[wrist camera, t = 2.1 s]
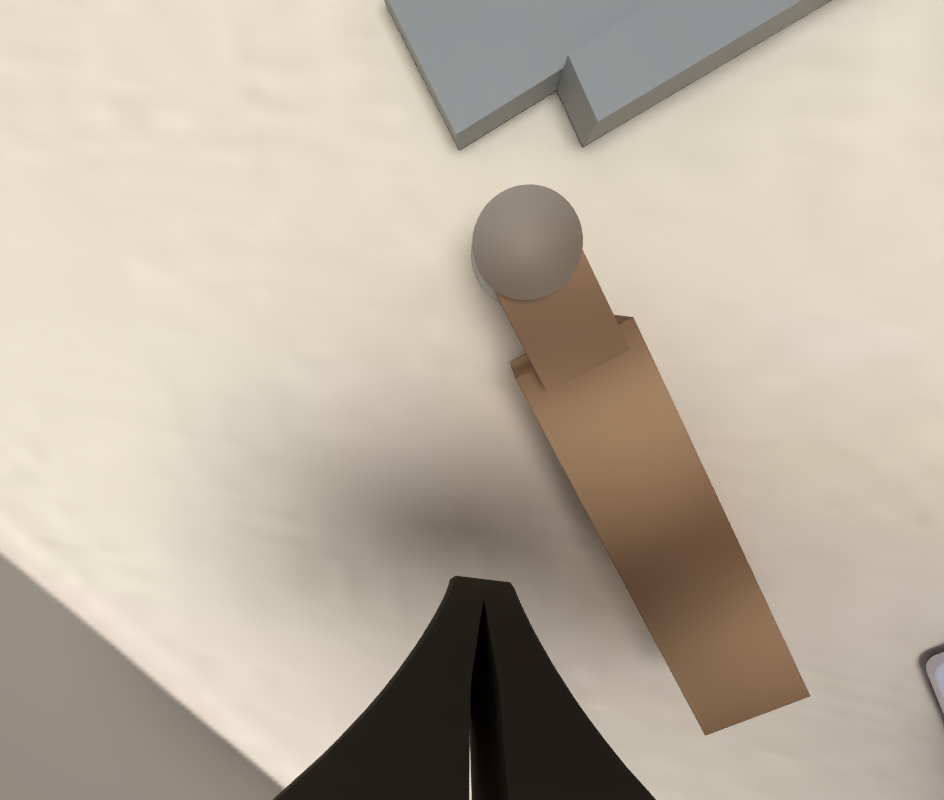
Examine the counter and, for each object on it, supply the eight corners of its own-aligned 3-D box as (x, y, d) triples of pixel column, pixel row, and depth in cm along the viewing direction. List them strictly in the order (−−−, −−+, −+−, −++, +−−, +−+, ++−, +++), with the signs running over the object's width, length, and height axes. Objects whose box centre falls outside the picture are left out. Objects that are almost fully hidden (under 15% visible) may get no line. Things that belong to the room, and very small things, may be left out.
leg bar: (452, 252, 13) (435, 231, 9) (545, 197, 12) (570, 151, 9) (664, 653, 15) (723, 772, 12) (748, 619, 15) (838, 731, 11)
